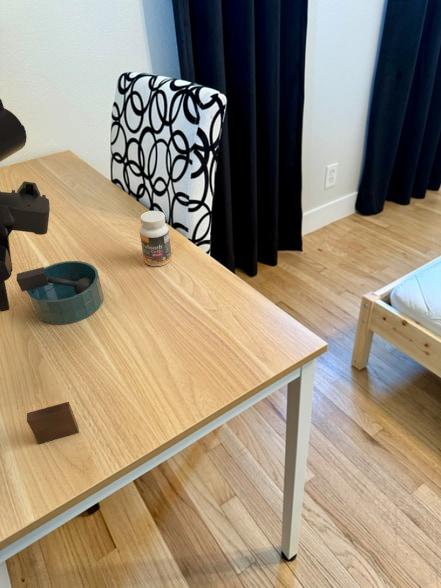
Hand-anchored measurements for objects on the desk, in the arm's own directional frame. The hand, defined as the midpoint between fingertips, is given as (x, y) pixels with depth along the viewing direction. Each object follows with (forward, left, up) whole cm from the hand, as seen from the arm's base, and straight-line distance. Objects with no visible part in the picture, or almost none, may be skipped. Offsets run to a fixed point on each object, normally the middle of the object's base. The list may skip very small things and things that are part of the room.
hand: (7, 290), depth 59 cm
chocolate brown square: (+3, -16, -13) cm, 21 cm away
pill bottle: (+24, +20, -13) cm, 34 cm away
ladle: (+5, +12, -13) cm, 18 cm away
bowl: (+6, +12, -13) cm, 19 cm away
